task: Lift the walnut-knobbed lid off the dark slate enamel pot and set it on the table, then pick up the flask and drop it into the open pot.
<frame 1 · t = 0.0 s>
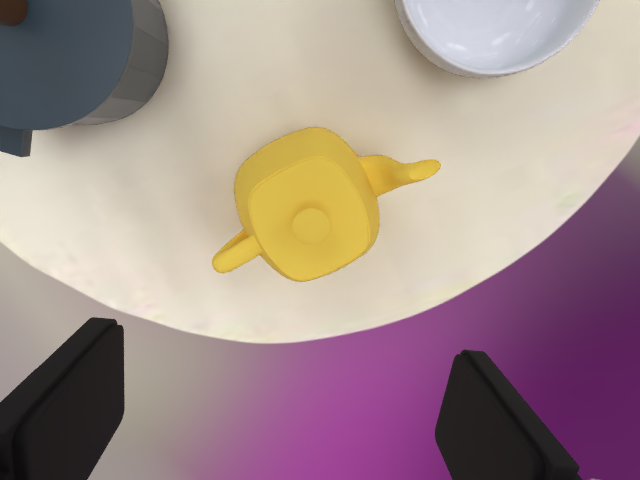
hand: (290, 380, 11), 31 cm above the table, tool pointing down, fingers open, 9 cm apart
teapot: (313, 193, 41), on the table
pot lid: (11, 5, 27), point 9 cm above the table, touching pot
pot: (81, 34, 35), on the table
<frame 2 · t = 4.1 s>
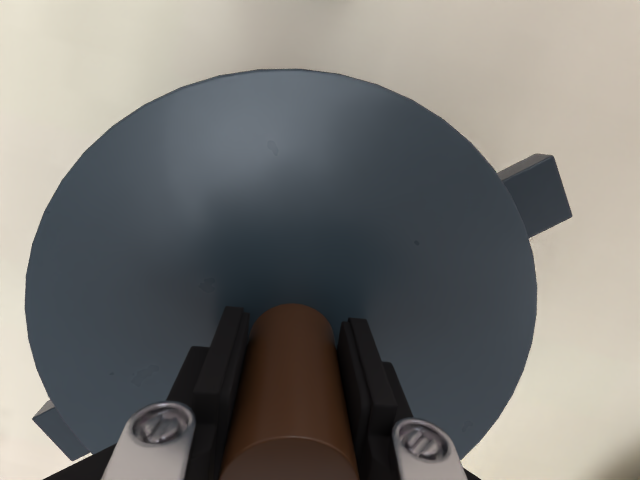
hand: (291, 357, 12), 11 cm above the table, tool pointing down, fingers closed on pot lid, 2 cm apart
pot lid: (291, 332, 13), point 9 cm above the table, touching gripper, pot
pot: (293, 249, 22), on the table
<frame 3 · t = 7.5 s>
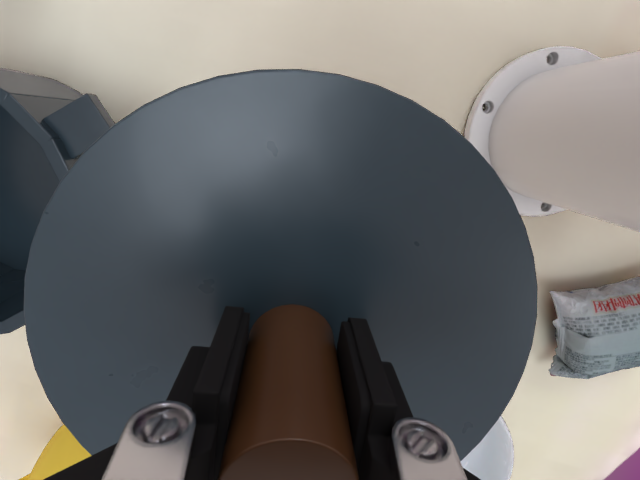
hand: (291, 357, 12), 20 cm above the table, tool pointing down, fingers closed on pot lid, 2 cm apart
teapot: (143, 449, 37), on the table
pot lid: (291, 333, 13), point 19 cm above the table, touching gripper
cereal bowl: (391, 409, 38), on the table
packaged food: (593, 306, 36), on the table
pot: (37, 184, 29), on the table
when the fingers open (2 cm above the table, at t = 11.1 s): pot lid stays where it is, point 1 cm above the table.
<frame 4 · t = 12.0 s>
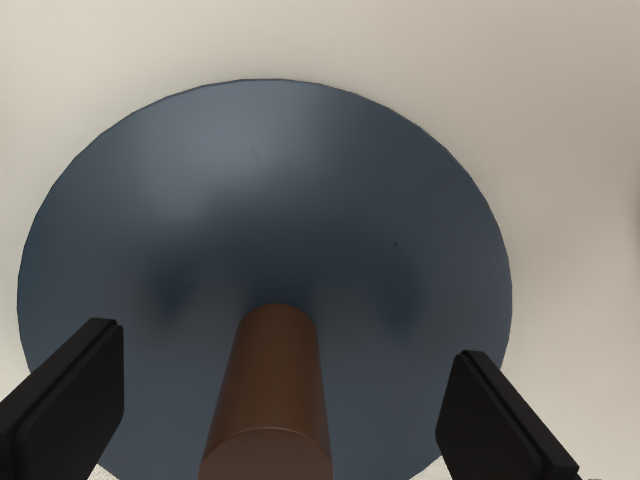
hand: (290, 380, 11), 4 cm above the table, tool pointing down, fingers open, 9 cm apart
pot lid: (277, 331, 14), point 1 cm above the table
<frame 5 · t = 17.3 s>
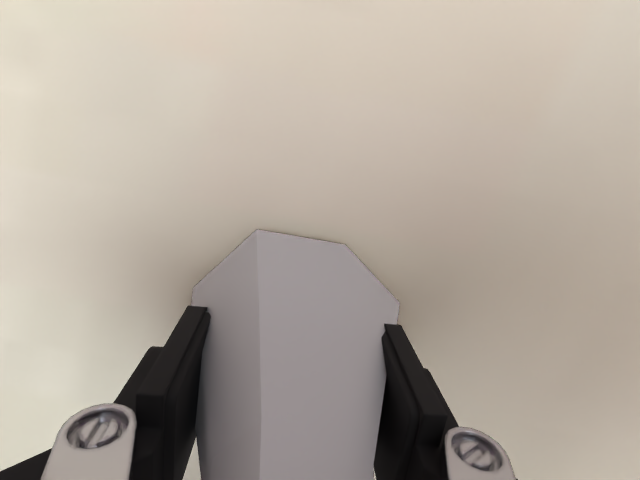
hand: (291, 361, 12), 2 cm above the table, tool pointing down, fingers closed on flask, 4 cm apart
flask: (291, 326, 14), on the table, touching gripper
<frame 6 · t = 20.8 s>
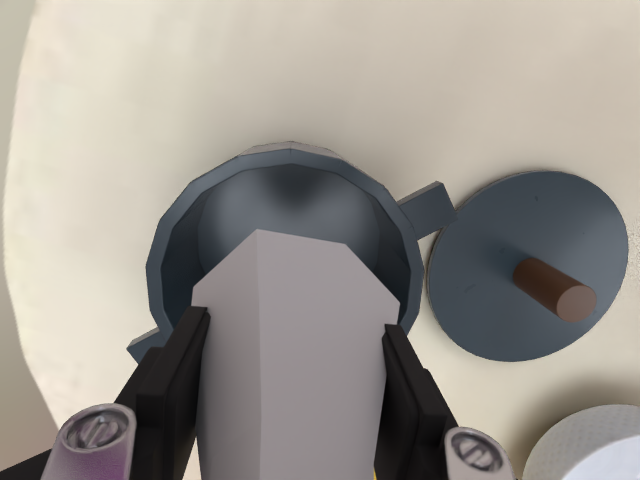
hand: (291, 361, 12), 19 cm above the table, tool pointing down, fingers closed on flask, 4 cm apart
flask: (291, 325, 14), point 17 cm above the table, touching gripper
pot lid: (525, 271, 32), point 1 cm above the table
cereal bowl: (578, 446, 39), on the table
pot: (289, 243, 31), on the table
when the fingers open (8 cm above the table, at t = 24.1 s): flask drops 6 cm, resting on pot.
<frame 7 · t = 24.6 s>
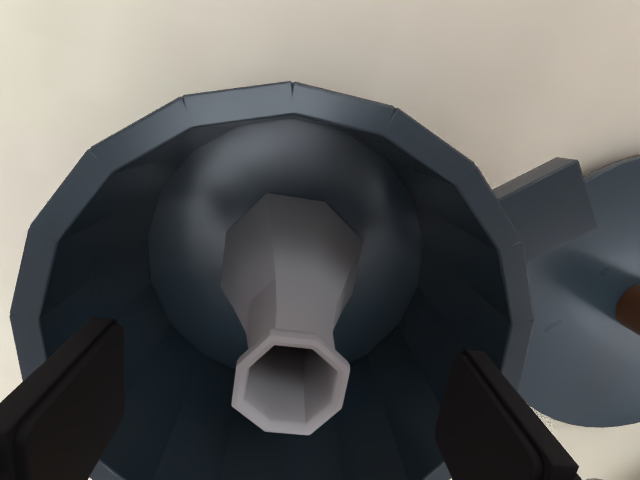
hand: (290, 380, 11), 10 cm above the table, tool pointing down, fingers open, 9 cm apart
flask: (291, 260, 20), resting on pot
pot lid: (630, 300, 22), point 1 cm above the table
pot: (288, 259, 20), on the table
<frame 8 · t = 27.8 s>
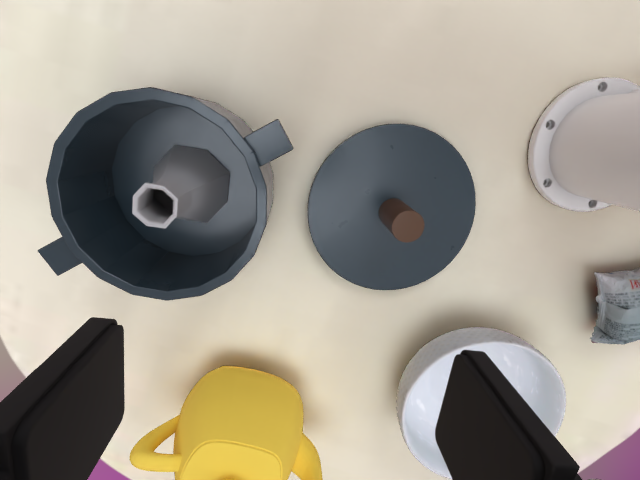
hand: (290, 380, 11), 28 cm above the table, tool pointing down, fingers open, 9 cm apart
flask: (192, 184, 37), resting on pot
teapot: (251, 403, 45), on the table
pot lid: (391, 211, 38), point 1 cm above the table
cereal bowl: (456, 372, 45), on the table
packaged food: (627, 286, 43), on the table
pot: (191, 184, 37), on the table
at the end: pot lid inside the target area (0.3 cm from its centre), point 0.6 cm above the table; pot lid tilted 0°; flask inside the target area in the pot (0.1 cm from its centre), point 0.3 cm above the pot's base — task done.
